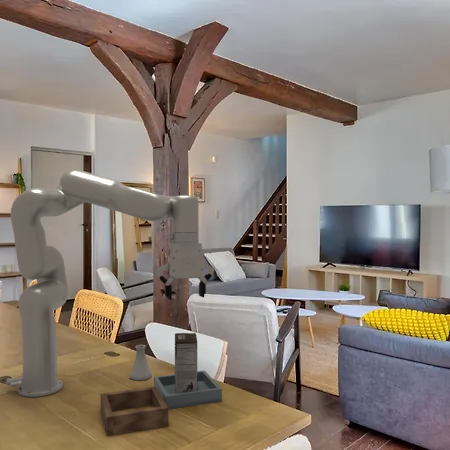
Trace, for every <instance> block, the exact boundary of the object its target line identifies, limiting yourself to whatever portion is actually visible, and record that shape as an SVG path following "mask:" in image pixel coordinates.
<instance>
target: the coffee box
mask: <svg viewBox="0 0 450 450" xmlns="http://www.w3.org/2000/svg"><path fill="white" fill-rule="evenodd" d="M197 337H198V336H197V333H196V332H192V333H191V332H178V333H174V374H175V392H176V394H178V393H185V392H193V391H197V371H198V338H197Z"/></svg>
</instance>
